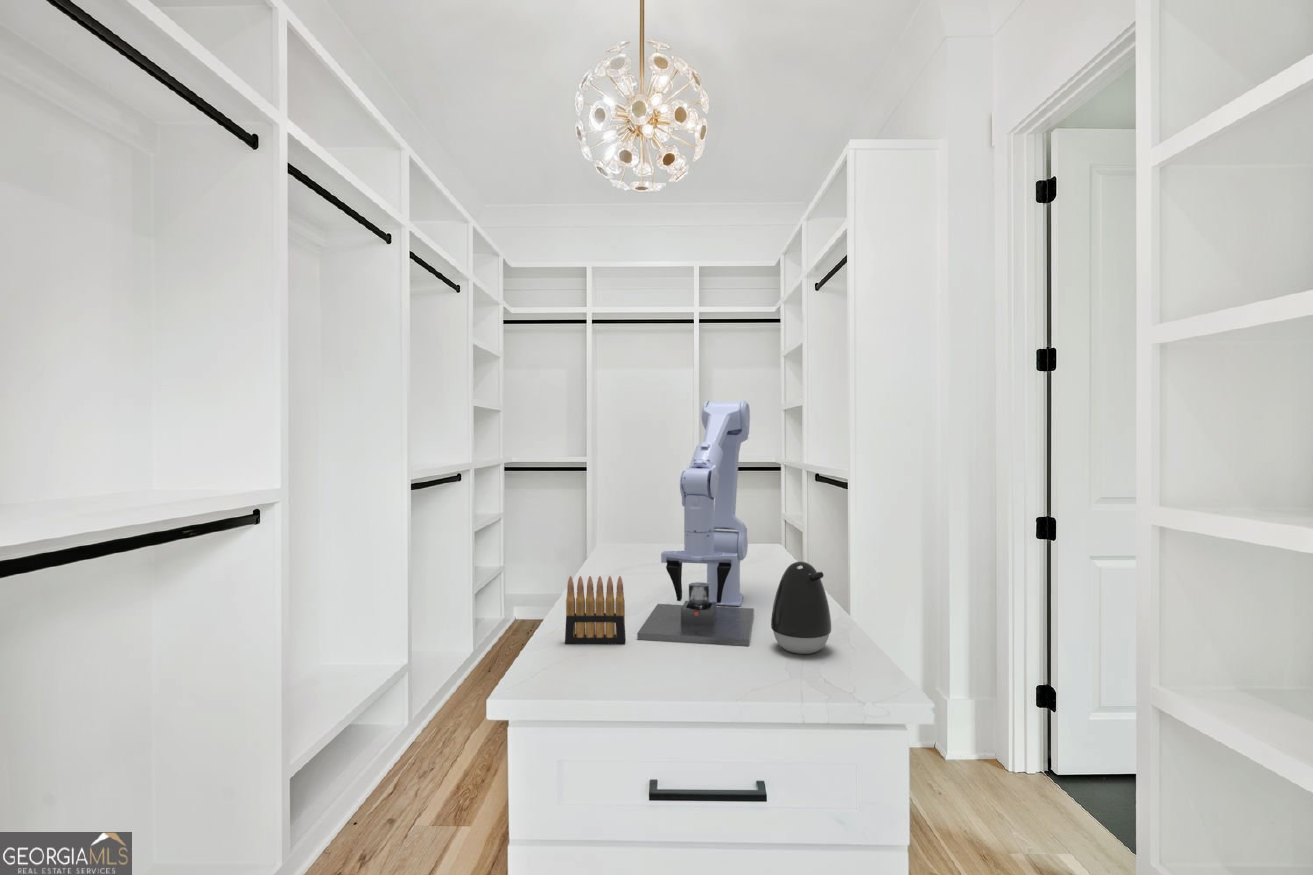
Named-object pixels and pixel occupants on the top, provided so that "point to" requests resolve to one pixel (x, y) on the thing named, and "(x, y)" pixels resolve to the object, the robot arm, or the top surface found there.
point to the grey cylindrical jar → (699, 595)
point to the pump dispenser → (801, 610)
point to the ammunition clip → (595, 614)
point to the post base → (698, 624)
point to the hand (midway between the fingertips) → (699, 600)
